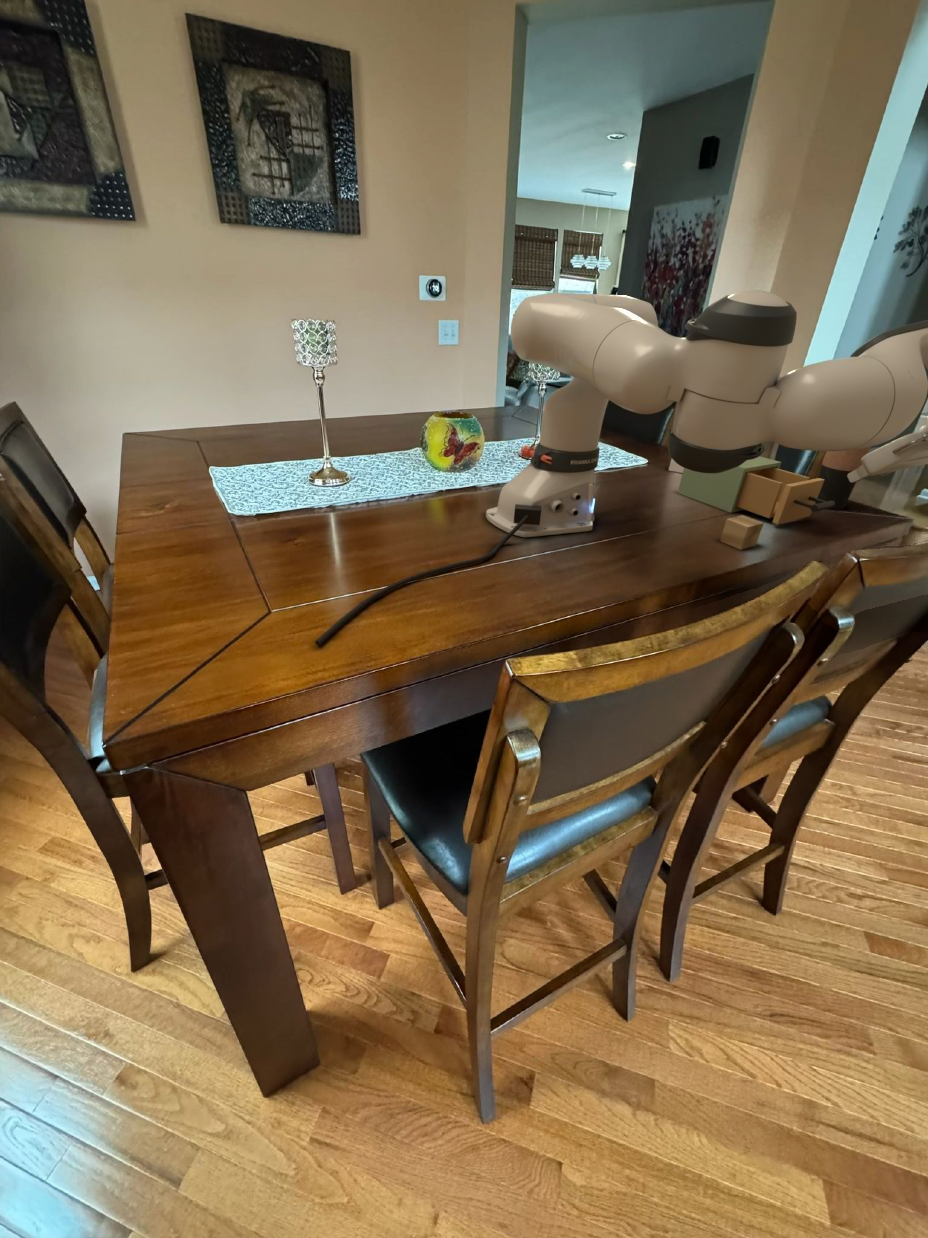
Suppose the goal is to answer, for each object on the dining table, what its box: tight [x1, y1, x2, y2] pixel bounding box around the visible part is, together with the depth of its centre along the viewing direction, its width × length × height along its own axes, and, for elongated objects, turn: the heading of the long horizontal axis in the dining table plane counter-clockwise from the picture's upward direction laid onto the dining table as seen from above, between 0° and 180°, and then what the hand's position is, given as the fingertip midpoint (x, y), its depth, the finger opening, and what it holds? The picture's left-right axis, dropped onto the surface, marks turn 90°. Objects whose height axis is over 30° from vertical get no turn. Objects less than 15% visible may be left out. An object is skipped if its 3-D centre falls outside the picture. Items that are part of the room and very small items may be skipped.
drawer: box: [735, 467, 835, 525], centre depth 111 cm, size 18×11×8 cm, turn 30°
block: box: [719, 514, 764, 551], centre depth 100 cm, size 4×4×4 cm
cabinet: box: [677, 456, 782, 514], centre depth 121 cm, size 15×13×10 cm
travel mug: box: [815, 447, 872, 511], centre depth 118 cm, size 8×8×20 cm
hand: (864, 475), depth 97 cm, fingers open, 8 cm apart
